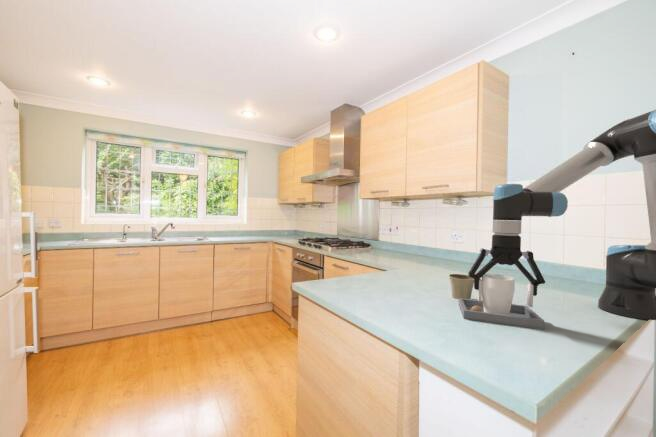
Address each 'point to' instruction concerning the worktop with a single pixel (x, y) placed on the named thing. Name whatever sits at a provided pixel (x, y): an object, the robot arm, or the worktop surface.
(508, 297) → the cup
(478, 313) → the tray
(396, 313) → the worktop surface
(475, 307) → the ball
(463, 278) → the flower pot
